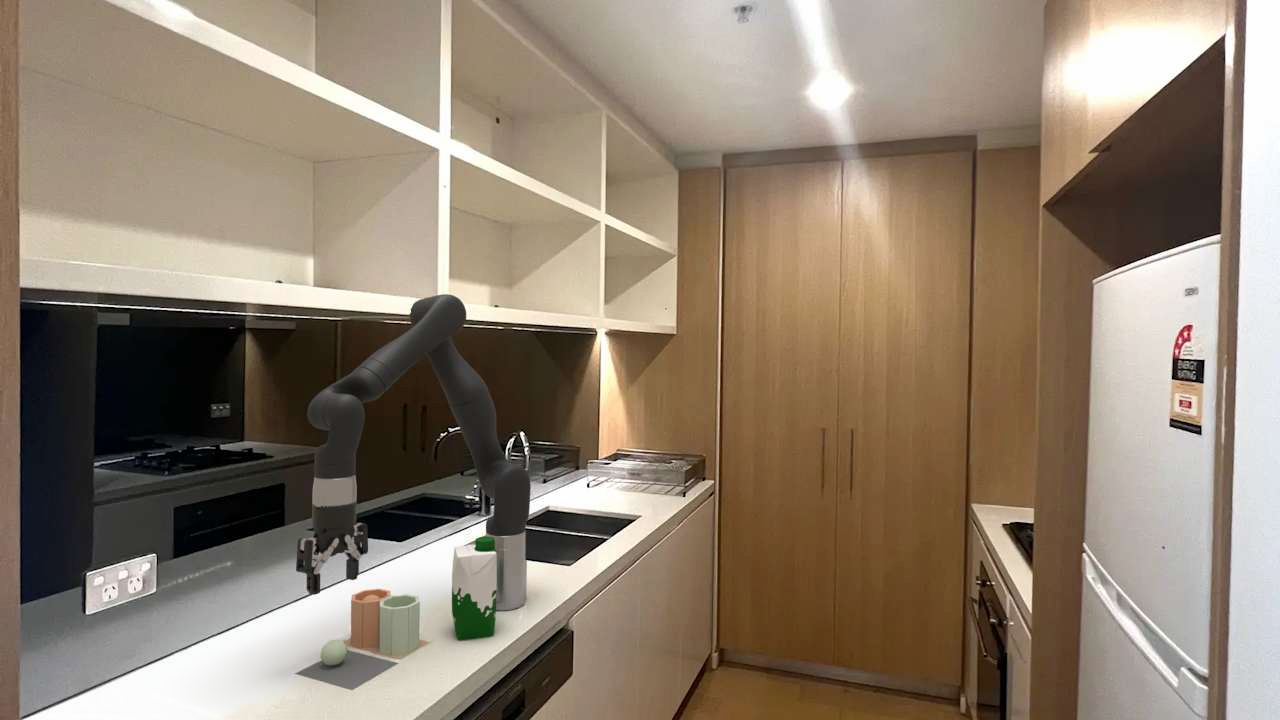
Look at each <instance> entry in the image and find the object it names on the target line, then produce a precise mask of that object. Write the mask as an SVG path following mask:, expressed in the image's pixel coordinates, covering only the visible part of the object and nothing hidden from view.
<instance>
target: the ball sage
mask: <svg viewBox="0 0 1280 720" xmlns="http://www.w3.org/2000/svg"><path fill="white" fill-rule="evenodd" d="M347 650H348V646H346V645H345V643H344V642H343V640H340V639H331V640H328V641H327V642H326V643H325V644H324V645H323V646H322V647H321V651H320V660H322V661H323V662H324V663H325V664H326V665H329V666H334V665H337V664H339V663H341V662H342V661H343V660H344V658H345V657H346V654H347Z"/></svg>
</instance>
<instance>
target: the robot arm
mask: <svg viewBox="0 0 1280 720" xmlns="http://www.w3.org/2000/svg"><path fill="white" fill-rule="evenodd" d="M461 300H462V299H460V298H458V297H457V296H455V295H453V294H450V293H449V294H438V295H433V296H429V297H424V298H422V299H421V298H420V299H418V300H416V301H415V302H414V303H413V304H412V305H413V306H412V305H411V307H412V308H411V307H410V310H411V313H410V312H409V319H410V325H411V328H410V329H409V330H407V331H406V332H405V333H403V334H402V335H400V336H399V337H397V338H395V339H394V340H392V341H390V342H388V343H387V344H385V345H384V346H382V347H381V348H379V349H378V350H376V351H375V352H373V353H372V354H371V355H370V356H369V357H367V358H366V359H365V360H364V361H363V362H362V363H361V364H360V365H358V366H357V367H356V368H355V369H353V371H352V372H351V373H350V374H348V375H346V376H344V377H342V378H341V379H339V380H337V381H335V382H334V383H332V384H330V385H329V386H328V387H326V388H324V389H323V390H321V391H320V392H319V393H318V394H317V395H315V396H314V397H313V399H312V400H311V401H310V403H309V405H308V408H307V413H306V414H307V418H308V421H309V423H310V424H311V425H312V426H313V427H314V428H316V429H319V430H322V431H329V432H328V435H327V436H328V437H327V440H326V443H324V444H322V445H319V446H318V447H317V448H316V449H315V451H314V452H315V453H314V477H313V485H312V502H311V503H312V505H311V506H312V509H311V510H312V513H311V514H312V515H311V526H312V527H313V530H314V533H313V535H312V537H309V538H305V537H304V538H303V537H300V538H299V539H298V540H297V546H296V547H297V548H296V549H297V550H296V564H295V565H296V567H295V571H296V572H297V573H302V574H306V590H307V592H308V594H309V595H315V596H316V595H319V594H320V593H321V573H320V571H321V569H322V567H323V565H324V564H326V563H328V561H329V559H330V557H334V556H336V555H338V554H342V553H343V554H344V555H345V557H347V559H346V562H345V566H346V568H345V570H346V571H345V578H346V580H350V581H354V580H357V579H358V575H359V572H360V571H359V570H360V569H359V566H360V559H362V556H364V555H366V554H367V553H369V542H368V541H369V538H368V537H369V536H368V535H369V534H368V532H369V530H368V524H367V523H362V522H357V499H358V497H357V495H358V494H357V491H358V490H357V487H358V486H357V478H356V473H357V472H356V468H357V467H356V465H357V463H356V462H357V459H356V456H357V455H356V453H357V449H358V447H359V444H360V440H361V437H362V432H363V431H364V430H363V429H364V427H365V426H364V425H365V419H366V414H365V409H364V406H363V404H364V403H370V402H374V401H375V400H377V399H379V398H380V397H382V395H383V394H385V392H387V391H388V390H389V389H390V388H391V386H393V385H394V384H395V383H396V382H397V381H398V380H399V379H400V378H401V377H402V376H403V375H404V374H405V373H406V372H408V370H410V368H411V367H413V366H414V365H415V364H416V363H417V362H419V361H420V360H421V359H422V358H424V357H425V356H426V355H427V358H428V359H429V361H430V364H431V366H432V368H433V371H434V372H435V375H436V377H437V379H438V381H439V383H440V386H441V388H442V390H443V392H444V395H445V397H446V399H447V402H448V405H449V408H450V410H451V412H452V416H453V417H454V419H455V421H456V423H457V426H458V428H459V430H460V433H461V435H462V437H463V439H464V441H465V444H466V445H467V448H468V449H469V452H470V454H471V457H472V460H473V463H474V468H475V471H476V474H477V478H478V482H479V484H480V487H481V489H482V491H483V493H484V494H485V495H486V496H487V497H488V498H489V499H492V500H493V501H494V502H493V504H494V505H493V513H492V514H493V515H492V516H490V517H489V518H487V520H486V522H485V537H486V536H488V537H494V538H495V548H496V554H497V592H496V611H510V610H515V609H518V608H521V607H522V606H523V605H524V604H525V602H526V601H525V600H527V572H528V571H527V568H528V561H527V559H526V531H527V530H526V524H527V522H528V520H529V516H530V505H531V478H530V475H529V473H528V472H527V470H526V469H525V468H524V467H522V466H520V465H518V464H514V463H510V462H509V461H508V458H507V457H506V456H505V454H504V451H503V449H502V446H501V445H500V441H499V439H498V433H497V412H496V408H495V407H496V406H495V404H494V401H493V398H492V396H491V394H490V392H489V389H488V386H487V383H486V382H485V381H484V380H483V378H482V377H481V376H480V375H479V374H478V373H477V371H476V370H475V369H474V368H473V367H472V366H471V365H470V364H469V363H468V362H467V361H466V360H465V359H464V358H463V356H462V355H461V354H460V353H459V351H458V350H457V348H456V346H455V345H454V342H453V339H452V336H455V335H456V334H457V333H459V332H460V331H461V330H462V329H463V327H464V326H465V324H466V322H467V309H466V307H465V304H464V303H463V302H462V301H461ZM319 554H321V555H319Z"/></svg>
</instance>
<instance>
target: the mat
mask: <svg viewBox="0 0 1280 720" xmlns="http://www.w3.org/2000/svg"><path fill="white" fill-rule="evenodd" d="M398 664H399V662H396V661H392V660H387V659H384V658H380V657H376V656H373V655H368V654H365V653H361V652H356V651H353V650H349V649H347V654H346V657H345V658H344V660H343V661H342V662H341V663H339V664H337V665H334V666H329V665H326V664H325V663H324V662H323V661H322V659H320V660H319V661H317V662H315V663H313V664H310V665H309V666H307V667H305V668H303V669H301V670H299V671H297V672H295V673H294V675H298V676H302V677H304V678H308V679H312V680H315V681H319V682H322V683H326V684H329V685H333V686H336V687H340V688H342V689H347V690H351V691H353V690H356V689H357V688H359V687H360V686H362V685H364V684H365V683H367V682H369V681H371V680H372V679H375V677H377V676H380V675H381V674H383V673H385V672H386V671H387V670H390V669H391V668H393V667H395V666H396V665H398Z"/></svg>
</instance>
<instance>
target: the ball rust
mask: <svg viewBox="0 0 1280 720" xmlns="http://www.w3.org/2000/svg"><path fill="white" fill-rule="evenodd" d="M379 599H381V598H380V597H378V596H376V595H369V596H367V597H365V598H364V599H363V600H362V601H364V602H365V601H373V600H379Z"/></svg>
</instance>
